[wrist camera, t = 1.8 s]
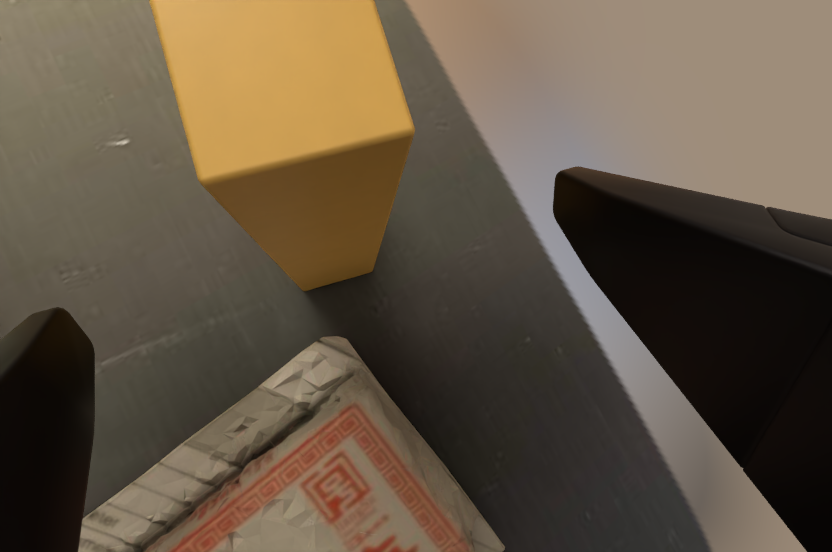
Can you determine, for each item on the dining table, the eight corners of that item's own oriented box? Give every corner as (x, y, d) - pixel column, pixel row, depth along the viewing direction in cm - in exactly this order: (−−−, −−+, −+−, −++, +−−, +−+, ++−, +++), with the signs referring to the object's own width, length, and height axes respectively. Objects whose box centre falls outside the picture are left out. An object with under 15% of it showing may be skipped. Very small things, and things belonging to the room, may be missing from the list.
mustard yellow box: (373, 271, 19) (417, 131, 6) (302, 292, 19) (198, 185, 6) (339, 157, 20) (315, -190, 7) (268, 174, 19) (102, -163, 6)
